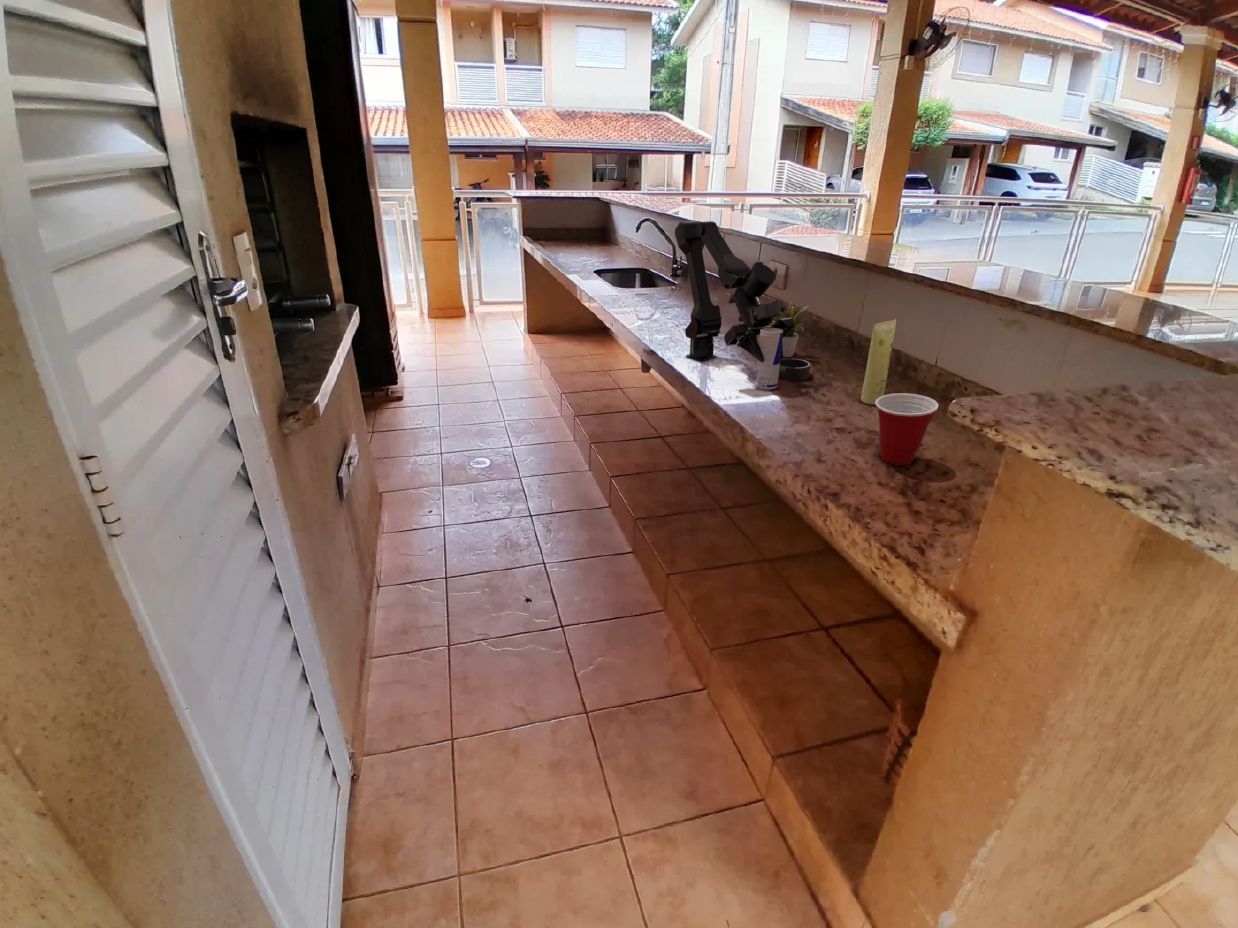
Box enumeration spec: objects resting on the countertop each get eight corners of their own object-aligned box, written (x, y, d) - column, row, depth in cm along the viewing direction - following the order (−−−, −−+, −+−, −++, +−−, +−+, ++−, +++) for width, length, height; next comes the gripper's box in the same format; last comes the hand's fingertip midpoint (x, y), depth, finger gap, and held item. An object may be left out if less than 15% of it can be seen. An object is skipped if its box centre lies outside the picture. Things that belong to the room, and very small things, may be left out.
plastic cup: (856, 449, 124) (865, 392, 119) (907, 446, 125) (919, 390, 120) (881, 473, 114) (892, 413, 109) (936, 470, 115) (951, 410, 110)
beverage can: (777, 391, 156) (783, 332, 150) (755, 390, 157) (760, 332, 151) (776, 384, 161) (783, 327, 155) (755, 383, 162) (760, 326, 156)
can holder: (767, 375, 168) (768, 363, 167) (786, 368, 174) (787, 356, 172) (796, 383, 162) (797, 370, 160) (815, 375, 167) (817, 363, 166)
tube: (883, 407, 145) (898, 324, 137) (860, 405, 147) (874, 323, 138) (881, 399, 150) (896, 319, 142) (859, 397, 152) (873, 318, 143)
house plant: (751, 358, 183) (756, 303, 176) (760, 347, 194) (765, 294, 187) (801, 363, 178) (807, 306, 171) (806, 351, 189) (813, 297, 182)
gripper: (733, 292, 148) (758, 348, 144) (795, 285, 155) (819, 338, 151) (713, 318, 158) (735, 371, 154) (772, 311, 165) (794, 361, 161)
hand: (772, 360), depth 155 cm, fingers closed on beverage can, 5 cm apart
